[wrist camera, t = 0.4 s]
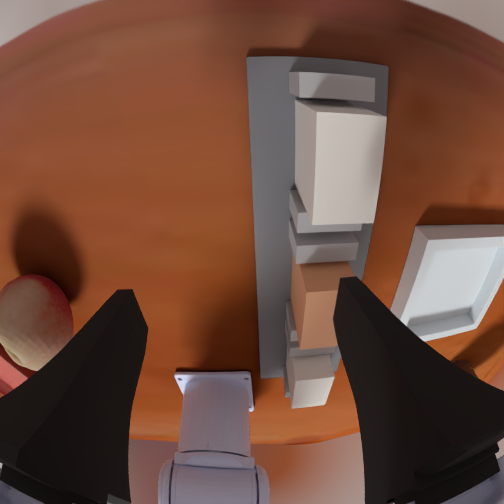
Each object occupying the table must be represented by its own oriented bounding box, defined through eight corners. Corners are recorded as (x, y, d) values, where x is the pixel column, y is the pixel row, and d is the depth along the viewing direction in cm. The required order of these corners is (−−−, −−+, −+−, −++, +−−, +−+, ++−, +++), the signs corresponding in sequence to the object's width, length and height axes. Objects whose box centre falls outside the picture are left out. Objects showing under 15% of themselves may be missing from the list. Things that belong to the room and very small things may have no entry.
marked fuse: (328, 294, 22) (344, 345, 18) (290, 297, 22) (299, 349, 18) (337, 238, 19) (360, 288, 15) (293, 241, 19) (306, 292, 15)
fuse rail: (335, 366, 29) (341, 395, 26) (260, 373, 29) (262, 403, 26) (383, 66, 13) (414, 68, 10) (246, 57, 13) (247, 53, 10)
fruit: (5, 264, 21) (-37, 323, 14) (57, 249, 20) (8, 321, 13) (46, 324, 25) (17, 384, 18) (101, 319, 24) (73, 392, 18)
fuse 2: (343, 183, 17) (373, 223, 13) (294, 183, 17) (312, 225, 13) (347, 102, 14) (386, 116, 10) (295, 99, 14) (316, 111, 10)
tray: (468, 316, 26) (476, 328, 25) (381, 333, 26) (387, 348, 25) (509, 224, 20) (521, 235, 18) (415, 225, 20) (428, 240, 18)
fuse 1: (316, 361, 27) (324, 404, 23) (286, 363, 27) (291, 408, 23) (322, 328, 25) (334, 376, 20) (288, 331, 25) (295, 381, 20)
